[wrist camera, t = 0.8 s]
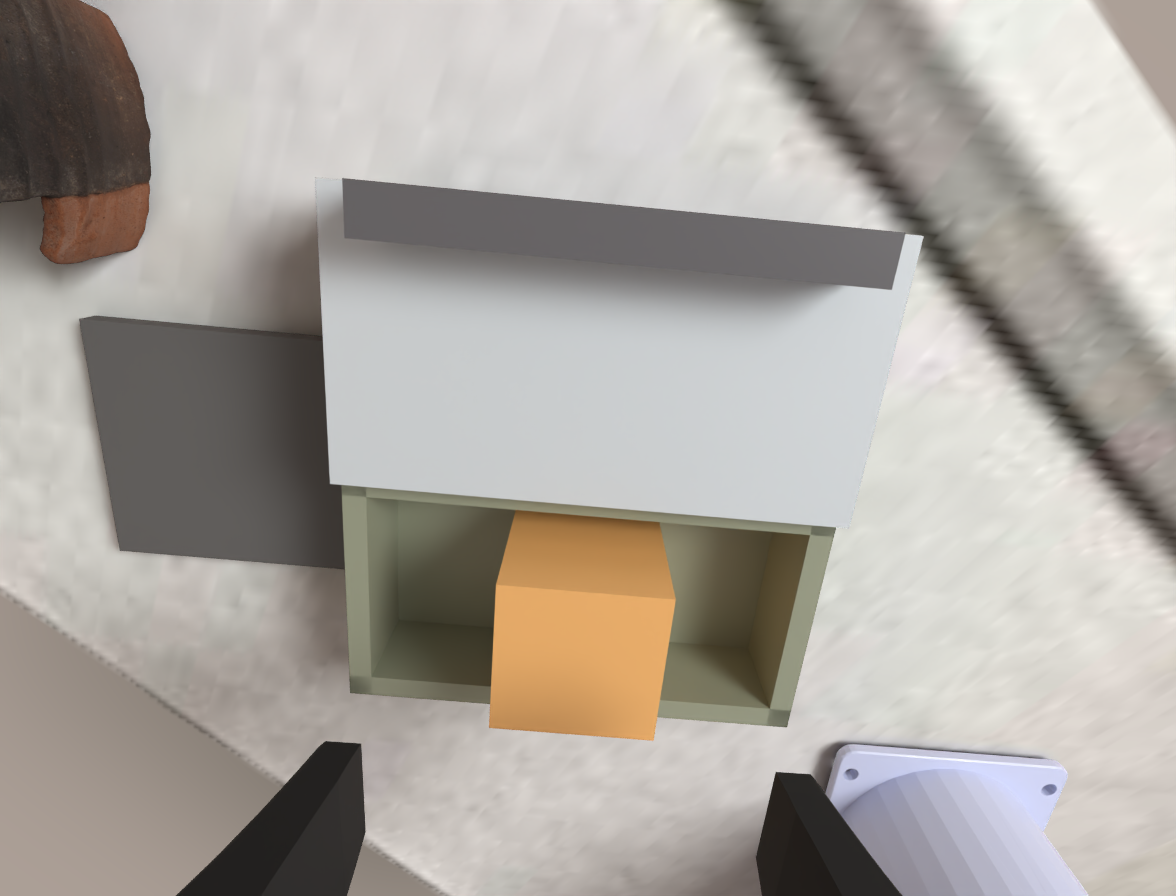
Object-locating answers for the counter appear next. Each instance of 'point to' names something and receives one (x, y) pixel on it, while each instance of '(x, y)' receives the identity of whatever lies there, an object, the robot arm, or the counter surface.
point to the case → (468, 587)
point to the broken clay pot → (72, 127)
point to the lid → (603, 351)
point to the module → (581, 626)
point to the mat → (215, 441)
